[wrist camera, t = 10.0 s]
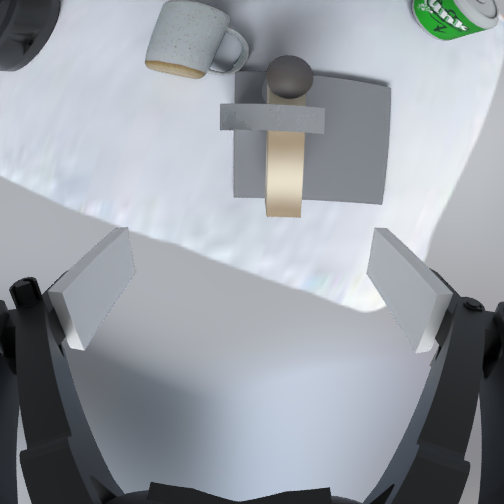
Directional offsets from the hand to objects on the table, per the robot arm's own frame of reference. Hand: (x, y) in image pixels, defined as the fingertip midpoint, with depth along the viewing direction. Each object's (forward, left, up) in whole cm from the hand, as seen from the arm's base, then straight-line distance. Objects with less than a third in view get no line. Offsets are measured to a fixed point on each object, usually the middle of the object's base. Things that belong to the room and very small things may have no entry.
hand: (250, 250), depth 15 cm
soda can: (-26, +24, -21) cm, 41 cm away
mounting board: (-5, +7, -21) cm, 23 cm away
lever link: (-5, +3, -17) cm, 18 cm away
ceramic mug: (-16, -6, -21) cm, 28 cm away
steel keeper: (-7, +1, -21) cm, 22 cm away
